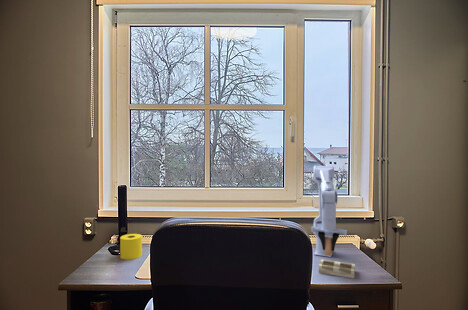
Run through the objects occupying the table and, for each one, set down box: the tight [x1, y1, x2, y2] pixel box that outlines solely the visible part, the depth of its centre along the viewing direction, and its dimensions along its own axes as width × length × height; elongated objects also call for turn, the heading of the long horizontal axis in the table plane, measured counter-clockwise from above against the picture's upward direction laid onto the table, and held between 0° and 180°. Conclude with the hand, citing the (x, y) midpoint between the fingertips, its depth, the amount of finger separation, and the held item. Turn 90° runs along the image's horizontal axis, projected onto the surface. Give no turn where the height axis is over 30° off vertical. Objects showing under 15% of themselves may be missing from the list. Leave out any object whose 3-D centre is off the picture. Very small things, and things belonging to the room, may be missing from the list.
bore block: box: [318, 259, 356, 279], centre depth 128 cm, size 8×14×3 cm, turn 66°
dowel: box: [325, 237, 333, 256], centre depth 129 cm, size 3×3×7 cm
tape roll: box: [119, 233, 143, 261], centre depth 146 cm, size 10×10×9 cm
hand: (328, 249), depth 129 cm, fingers closed on dowel, 3 cm apart
